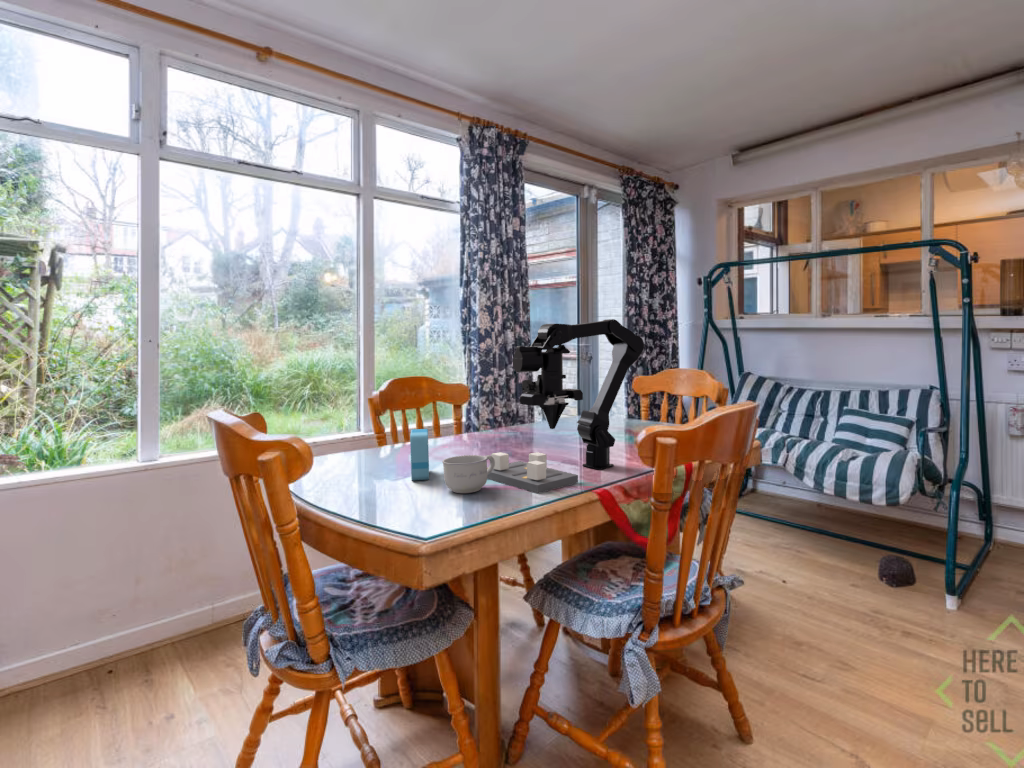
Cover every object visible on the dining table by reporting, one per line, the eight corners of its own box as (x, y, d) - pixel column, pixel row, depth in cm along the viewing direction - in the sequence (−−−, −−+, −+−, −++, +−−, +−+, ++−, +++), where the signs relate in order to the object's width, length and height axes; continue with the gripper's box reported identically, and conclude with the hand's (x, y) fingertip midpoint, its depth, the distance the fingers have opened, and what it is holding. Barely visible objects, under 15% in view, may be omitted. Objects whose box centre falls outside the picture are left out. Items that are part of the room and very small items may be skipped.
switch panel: (519, 468, 163) (519, 460, 162) (577, 482, 146) (577, 474, 146) (480, 476, 154) (480, 469, 153) (537, 493, 137) (537, 484, 137)
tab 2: (535, 475, 144) (535, 460, 144) (546, 478, 142) (545, 462, 141) (527, 477, 142) (526, 462, 142) (537, 480, 140) (536, 464, 139)
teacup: (453, 499, 133) (452, 465, 133) (436, 488, 143) (436, 456, 142) (507, 490, 140) (506, 458, 139) (487, 480, 149) (487, 450, 149)
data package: (429, 481, 150) (427, 435, 149) (411, 482, 149) (410, 436, 148) (429, 470, 162) (427, 427, 161) (412, 471, 161) (411, 428, 160)
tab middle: (537, 466, 154) (537, 452, 154) (546, 468, 151) (546, 454, 151) (528, 468, 152) (528, 453, 152) (538, 470, 150) (538, 456, 149)
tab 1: (500, 466, 155) (499, 452, 155) (508, 468, 152) (508, 454, 152) (491, 468, 153) (491, 453, 153) (500, 470, 150) (499, 455, 150)
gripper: (555, 367, 167) (555, 421, 168) (505, 371, 155) (506, 429, 156) (584, 369, 158) (584, 426, 160) (534, 373, 146) (534, 434, 148)
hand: (552, 428), depth 156 cm, fingers closed
